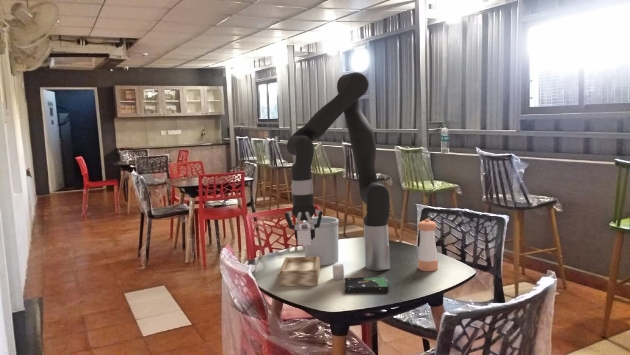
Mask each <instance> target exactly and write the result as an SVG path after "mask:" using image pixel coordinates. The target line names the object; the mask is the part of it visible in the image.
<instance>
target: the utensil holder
mask: <svg viewBox="0 0 630 355" xmlns="http://www.w3.org/2000/svg"><path fill="white" fill-rule="evenodd" d="M312 219H313V222H314V224H316V223H317V220H318V216H312ZM303 223H309V221H305V220H304V221H302V224H303ZM317 256H320V267H321V266H331V265H334V264H337V263H338V262H339V218H337V217H333V216H325V215H324V216H323V215H322V218H321V222H320V226H319V227H318V228H315V238H313V240H312V242H311V245H304V257H317Z"/></svg>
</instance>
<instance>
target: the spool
mask: <svg viewBox="0 0 630 355" xmlns="http://www.w3.org/2000/svg"><path fill="white" fill-rule="evenodd" d="M332 280H334V281H343V280H345V269H344V264H343V263H342V264H341V263H334V264H332Z"/></svg>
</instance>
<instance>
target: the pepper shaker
mask: <svg viewBox="0 0 630 355" xmlns="http://www.w3.org/2000/svg"><path fill="white" fill-rule="evenodd" d="M418 222H419V221H418ZM437 226H438V225H437V223H436V222H435V221H432V220H430V219H429V218H425V219H424V220H422V221H420V222H419V223H418V224H417V229H418V230H419V246H418V260H417V267H418V270H420V271H423V272H434V271H437V270H438V269H439V265H438V264H439V263H438V262H439V260H438V258H437V256H438V255H437V246H436V234H435V233H436V232H435V230H436V229H437Z"/></svg>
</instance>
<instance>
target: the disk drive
mask: <svg viewBox="0 0 630 355" xmlns="http://www.w3.org/2000/svg"><path fill="white" fill-rule="evenodd" d="M389 287H390V286H389V281H388V278H387V277H384V276H382V277H381V276H376V277H375V276H371V277H369V276H368V277H367V276H366V277H363V276H361V277H344V294H345V295H346V294H348V295H349V294H350V295H351V294H353V295H354V294H388V293H390V290H389V289H390V288H389Z"/></svg>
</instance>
